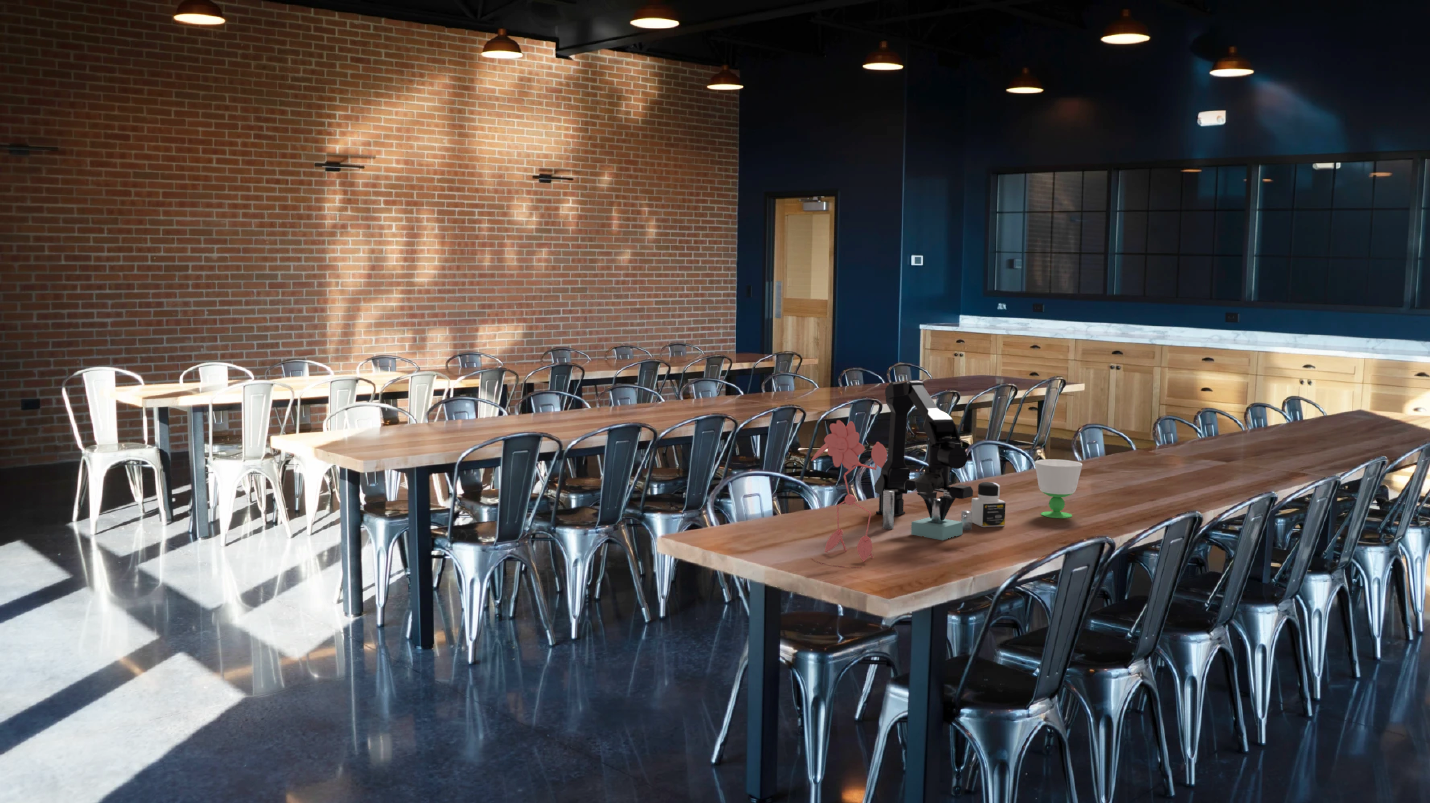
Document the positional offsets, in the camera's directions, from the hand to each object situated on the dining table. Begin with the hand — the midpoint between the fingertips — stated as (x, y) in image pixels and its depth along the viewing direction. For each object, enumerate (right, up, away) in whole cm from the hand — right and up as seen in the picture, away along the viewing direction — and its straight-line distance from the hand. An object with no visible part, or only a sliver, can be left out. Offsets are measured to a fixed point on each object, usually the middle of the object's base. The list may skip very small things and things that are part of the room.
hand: (937, 519), depth 317 cm
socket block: (0, -4, 0) cm, 4 cm away
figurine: (-30, -7, -28) cm, 41 cm away
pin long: (-12, -3, +8) cm, 15 cm away
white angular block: (+17, -3, +14) cm, 23 cm away
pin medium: (0, -3, 0) cm, 2 cm away
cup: (+41, -2, +28) cm, 49 cm away
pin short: (+10, -4, +8) cm, 13 cm away
